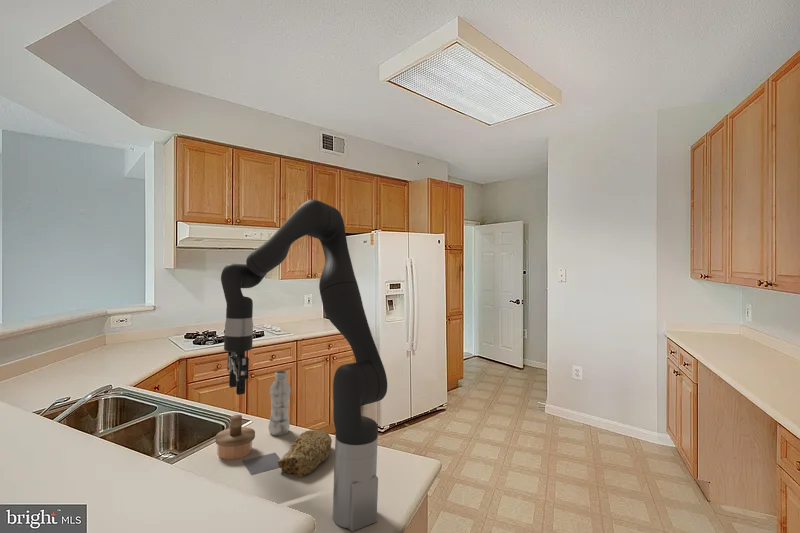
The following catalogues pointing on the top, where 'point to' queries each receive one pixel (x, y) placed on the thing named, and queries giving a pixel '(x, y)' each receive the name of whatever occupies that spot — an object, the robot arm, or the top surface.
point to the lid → (235, 433)
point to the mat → (262, 463)
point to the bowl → (234, 451)
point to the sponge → (306, 453)
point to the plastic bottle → (279, 405)
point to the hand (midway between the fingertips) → (236, 390)
